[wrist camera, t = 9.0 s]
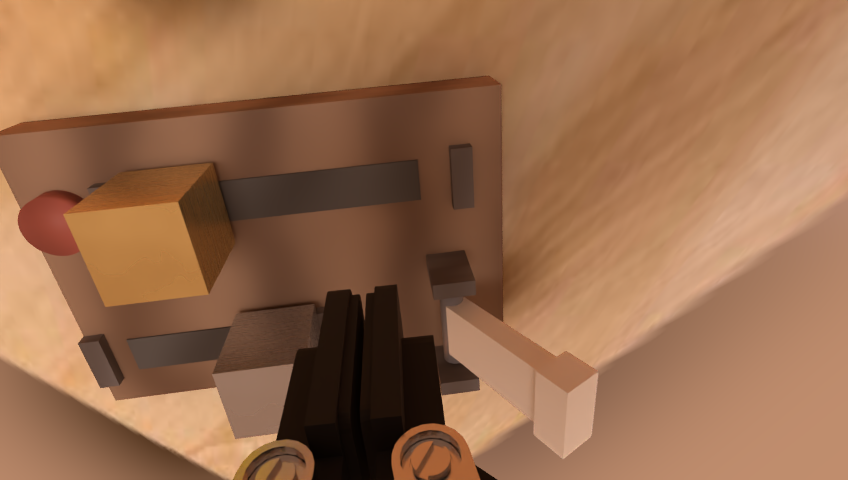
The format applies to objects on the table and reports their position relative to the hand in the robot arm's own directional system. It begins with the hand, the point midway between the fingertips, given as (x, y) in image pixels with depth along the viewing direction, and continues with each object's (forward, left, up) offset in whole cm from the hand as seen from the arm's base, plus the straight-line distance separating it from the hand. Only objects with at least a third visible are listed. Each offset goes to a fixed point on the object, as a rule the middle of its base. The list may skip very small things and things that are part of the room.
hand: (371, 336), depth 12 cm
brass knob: (+9, +1, -12) cm, 15 cm away
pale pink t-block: (-3, +8, -11) cm, 14 cm away
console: (+5, +4, -15) cm, 16 cm away
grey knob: (+6, +9, -12) cm, 16 cm away
